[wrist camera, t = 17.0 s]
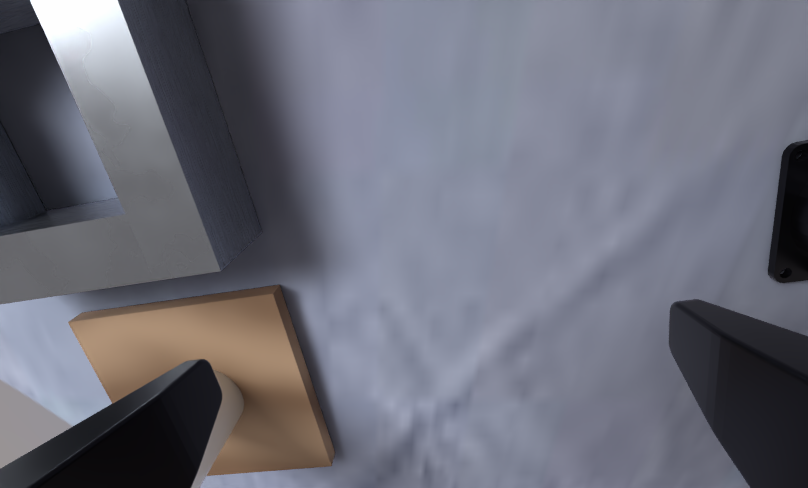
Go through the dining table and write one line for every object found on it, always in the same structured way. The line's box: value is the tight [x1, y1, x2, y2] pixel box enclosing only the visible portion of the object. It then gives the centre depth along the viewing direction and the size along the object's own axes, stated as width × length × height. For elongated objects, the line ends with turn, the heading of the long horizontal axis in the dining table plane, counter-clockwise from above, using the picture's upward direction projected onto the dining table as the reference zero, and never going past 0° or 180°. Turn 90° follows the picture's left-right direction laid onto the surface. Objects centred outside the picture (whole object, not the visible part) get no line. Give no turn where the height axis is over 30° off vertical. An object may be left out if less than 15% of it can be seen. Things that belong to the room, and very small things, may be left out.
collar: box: [0, 0, 262, 304], centre depth 19 cm, size 14×14×4 cm
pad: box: [68, 285, 335, 476], centre depth 26 cm, size 12×12×1 cm
